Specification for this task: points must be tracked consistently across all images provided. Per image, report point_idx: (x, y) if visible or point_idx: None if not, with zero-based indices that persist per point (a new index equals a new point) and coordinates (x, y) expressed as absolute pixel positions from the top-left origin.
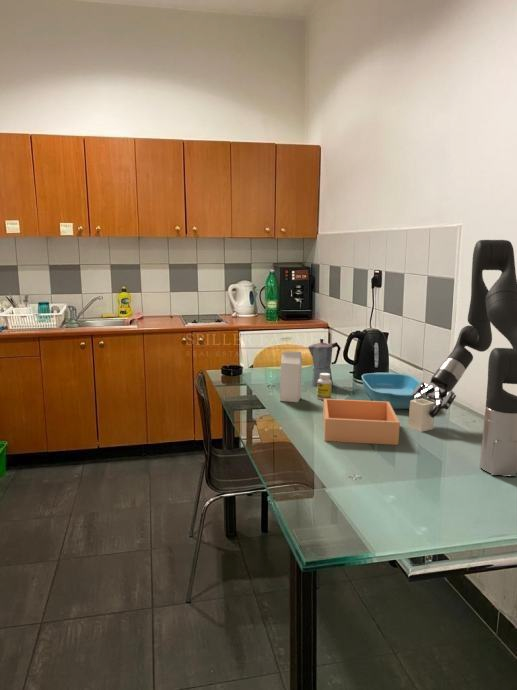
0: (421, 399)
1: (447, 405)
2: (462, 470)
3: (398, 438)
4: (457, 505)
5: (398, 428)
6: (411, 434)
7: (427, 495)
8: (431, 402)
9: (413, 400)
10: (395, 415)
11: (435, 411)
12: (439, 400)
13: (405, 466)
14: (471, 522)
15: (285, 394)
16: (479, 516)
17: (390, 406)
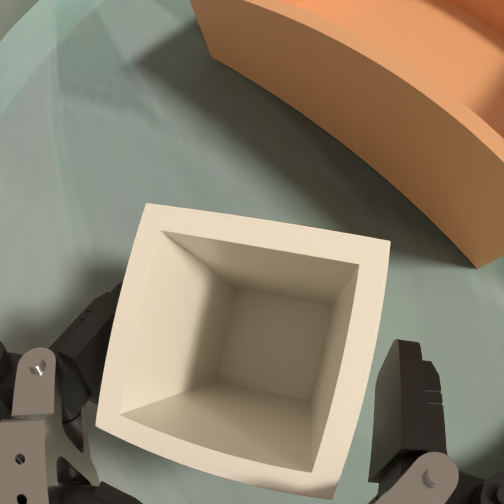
0: (317, 453)
1: (4, 410)
2: (20, 102)
3: (204, 37)
4: (35, 26)
5: (193, 2)
6: (243, 189)
7: (71, 5)
8: (137, 420)
9: (365, 290)
10: (264, 5)
11: (83, 312)
12: (16, 400)
13: (128, 11)
14: (24, 23)
15: None
16: (15, 36)
17: (451, 107)
